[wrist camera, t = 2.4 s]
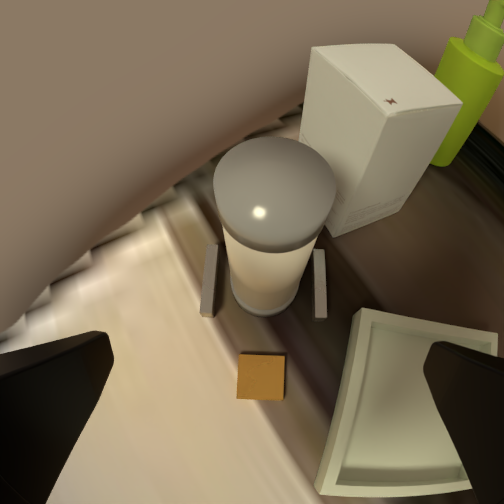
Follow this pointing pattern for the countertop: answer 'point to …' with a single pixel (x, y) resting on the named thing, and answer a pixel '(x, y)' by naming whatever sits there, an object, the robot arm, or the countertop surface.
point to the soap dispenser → (471, 76)
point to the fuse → (271, 217)
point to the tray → (392, 412)
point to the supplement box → (373, 127)
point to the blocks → (262, 366)
